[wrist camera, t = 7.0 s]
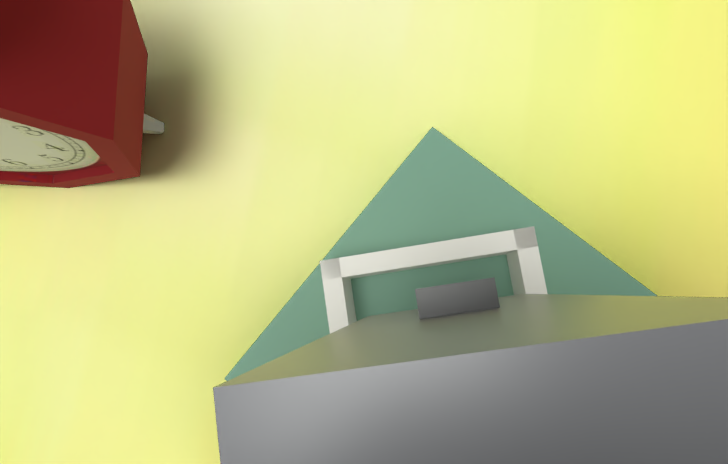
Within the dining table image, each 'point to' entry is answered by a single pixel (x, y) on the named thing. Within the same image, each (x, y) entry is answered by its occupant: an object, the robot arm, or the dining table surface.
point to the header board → (433, 218)
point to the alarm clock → (71, 92)
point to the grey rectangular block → (494, 385)
